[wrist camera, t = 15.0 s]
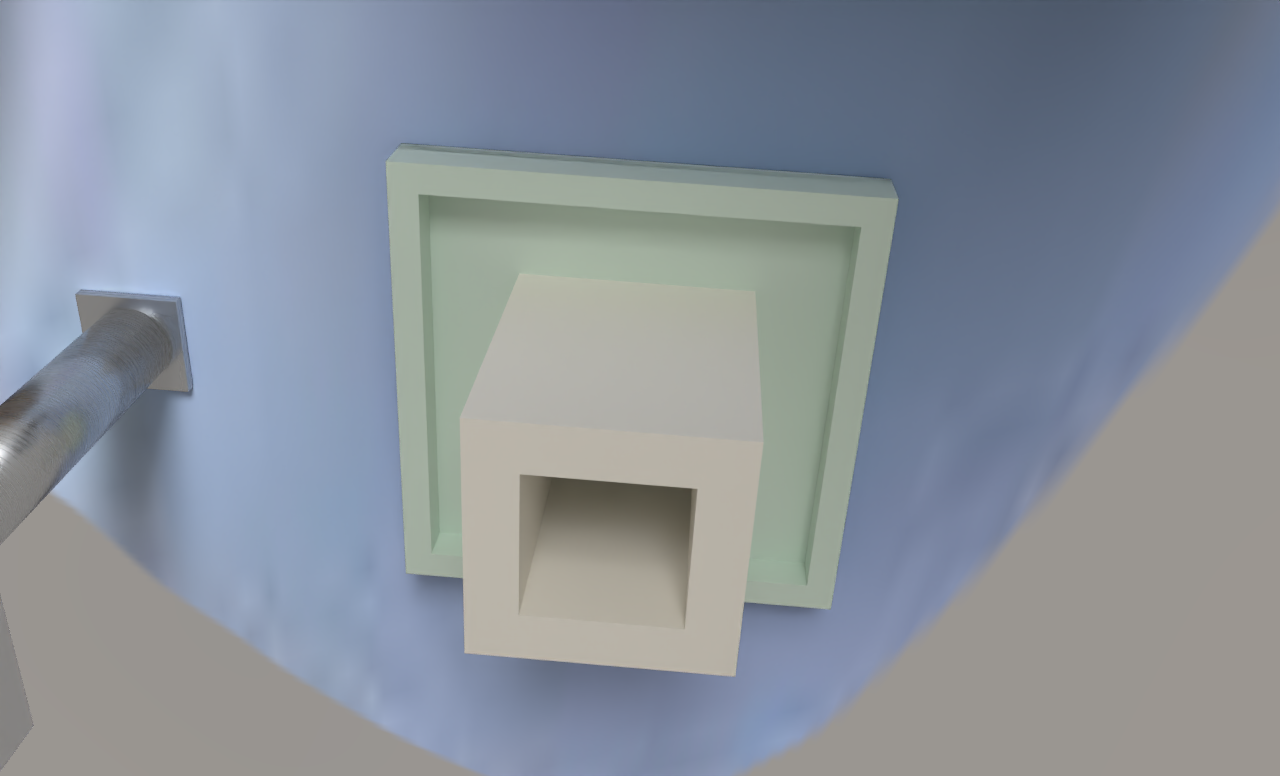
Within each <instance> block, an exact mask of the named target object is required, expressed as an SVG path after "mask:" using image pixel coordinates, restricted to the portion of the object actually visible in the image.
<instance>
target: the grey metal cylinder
mask: <svg viewBox="0 0 1280 776" xmlns="http://www.w3.org/2000/svg"><path fill="white" fill-rule="evenodd" d="M75 295H76V300H77V306H78V311H79V316H80V321H81V327H82V332H83V334H81V335H80V336H79V337H78V338H77V339H76V340H75V341H73V342H72V343H71V344H70V345H69V346H68V347H67V348H65V349H64V350H63V351H62V352H61V353H60V354H59V355H57V356H56V357H55V358H54V359H53V360H52V361H51V362H49V363H48V364H47V365H46V366H45V367H44V368H43V369H41V370H40V371H39V372H38V373H37V374H36V375H35V376H33V377H32V378H31V379H30V380H29V381H28V382H26V383H25V384H24V385H23V386H22V387H21V388H20V389H18V390H17V391H16V392H15V393H14V394H13V395H12V396H10V397H9V398H8V399H7V400H6V401H5V402H4V403H2V404H1V405H0V545H1V544H2V543H3V542H4V540H5V539H6V538H7V537H8V536H9V535H10V534H11V533H12V532H13V531H14V530H15V529H16V528H17V526H18V525H19V524H20V523H21V522H22V521H23V520H24V519H25V518H26V517H27V516H28V515H29V514H30V513H31V512H32V511H33V510H34V508H35V507H36V506H37V505H38V504H39V503H40V502H41V501H42V500H43V499H44V498H45V497H46V496H47V495H48V494H49V492H50V491H51V490H52V489H53V488H54V487H55V486H56V485H57V484H58V483H59V482H60V481H61V480H62V479H63V478H64V476H65V475H66V474H67V473H68V472H69V471H70V470H71V469H72V468H73V467H74V466H75V465H76V464H77V463H78V462H79V460H80V459H81V458H82V457H83V456H84V455H85V454H86V453H87V452H88V451H89V450H90V449H91V448H92V447H93V446H94V444H95V443H96V442H97V441H98V440H99V439H100V438H101V437H102V436H103V435H104V434H105V433H106V432H107V431H108V430H109V428H110V427H111V426H112V425H113V424H114V423H115V422H116V421H117V420H118V419H119V418H120V417H121V416H122V415H123V414H124V412H125V411H126V410H127V409H128V408H129V407H130V406H131V405H132V404H133V403H134V402H135V401H136V400H137V399H138V398H139V396H140V395H141V394H142V393H143V392H144V391H145V390H146V389H159V390H172V391H184V392H189V391H190V390H191V388H192V387H193V383H192V376H191V369H190V362H189V355H188V348H187V341H186V334H185V327H184V320H183V313H182V306H181V299H180V297H168V296H155V295H142V294H129V293H116V292H103V291H90V290H80V291H79V292H77V293H76V294H75Z"/></svg>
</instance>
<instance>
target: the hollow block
mask: <svg viewBox="0 0 1280 776" xmlns="http://www.w3.org/2000/svg"><path fill="white" fill-rule="evenodd" d="M763 443H764V440H763V422H762V403H761V385H760V366H759V348H758V329H757V311H756V292H755V291H744V290H731V289H718V288H705V287H692V286H679V285H666V284H652V283H639V282H626V281H613V280H600V279H587V278H574V277H561V276H548V275H535V274H521V273H519V275H518V278H517V280H516V283H515V285H514V287H513V290H512V292H511V295H510V297H509V300H508V302H507V304H506V307H505V309H504V312H503V314H502V317H501V319H500V321H499V324H498V326H497V329H496V331H495V333H494V336H493V338H492V341H491V343H490V346H489V348H488V350H487V353H486V355H485V358H484V360H483V363H482V365H481V367H480V370H479V372H478V375H477V377H476V380H475V382H474V384H473V387H472V389H471V392H470V394H469V397H468V399H467V401H466V404H465V406H464V409H463V411H462V413H461V416H460V458H461V506H462V553H463V601H464V649H465V653H468V654H480V655H491V656H503V657H514V658H526V659H537V660H549V661H560V662H571V663H583V664H594V665H606V666H617V667H629V668H640V669H652V670H663V671H675V672H686V673H698V674H709V675H721V676H732V677H735V674H736V666H737V658H738V649H739V641H740V633H741V625H742V616H743V608H744V600H745V592H746V583H747V575H748V567H749V559H750V551H751V542H752V534H753V526H754V518H755V509H756V501H757V493H758V485H759V476H760V468H761V460H762V452H763Z"/></svg>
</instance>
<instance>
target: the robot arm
mask: <svg viewBox="0 0 1280 776" xmlns="http://www.w3.org/2000/svg"><path fill="white" fill-rule="evenodd" d="M33 726H34V725H33V721H32V717H31V713H30V709H29V705H28V701H27V698H26V693H25V689H24V685H23V682H22V678H21V674H20V670H19V666H18V662H17V658H16V654H15V650H14V646H13V643H12V639H11V634H10V631H9V627H8V623H7V619H6V615H5V612H4V607H3V603H2V599H1V595H0V771H1V770H2V769H3V767H4V766H5V764H6V763H7V762H8V760H9V759H10V757H11V756H12V755H13V753H14V752H15V750H16V749H17V748H18V747H19V745H20V744H21V742H22V741H23V740H24V738H25V737H26V735H27V734H28V733H29V731H30V730H31V729H32V727H33Z"/></svg>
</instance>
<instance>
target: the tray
mask: <svg viewBox="0 0 1280 776" xmlns="http://www.w3.org/2000/svg"><path fill="white" fill-rule="evenodd" d="M386 179H387V199H388V219H389V240H390V260H391V280H392V300H393V321H394V341H395V361H396V381H397V402H398V422H399V442H400V462H401V482H402V503H403V523H404V543H405V563H406V573H408V574H419V575H431V576H443V577H455V578H463V553H462V506H461V458H460V416H461V413H462V411H463V409H464V406H465V404H466V401H467V399H468V397H469V394H470V392H471V389H472V387H473V384H474V382H475V380H476V377H477V375H478V372H479V370H480V367H481V365H482V363H483V360H484V358H485V355H486V353H487V350H488V348H489V346H490V343H491V341H492V338H493V336H494V333H495V331H496V329H497V326H498V324H499V321H500V319H501V317H502V314H503V312H504V309H505V307H506V304H507V302H508V300H509V297H510V295H511V292H512V290H513V287H514V285H515V283H516V280H517V278H518V275H519V273H521V274H535V275H548V276H561V277H574V278H587V279H600V280H613V281H626V282H639V283H652V284H666V285H679V286H692V287H705V288H718V289H731V290H744V291H755V292H756V311H757V329H758V348H759V366H760V385H761V403H762V422H763V440H764V443H763V452H762V460H761V468H760V476H759V485H758V493H757V501H756V509H755V518H754V526H753V534H752V542H751V551H750V559H749V567H748V575H747V583H746V592H745V600H744V602H749V603H760V604H772V605H784V606H796V607H807V608H819V609H831V604H832V598H833V592H834V586H835V580H836V574H837V568H838V562H839V556H840V550H841V544H842V538H843V532H844V526H845V520H846V514H847V508H848V502H849V495H850V489H851V483H852V477H853V471H854V465H855V459H856V453H857V447H858V441H859V435H860V429H861V423H862V417H863V411H864V405H865V399H866V393H867V387H868V381H869V375H870V369H871V363H872V357H873V351H874V345H875V339H876V333H877V327H878V321H879V315H880V309H881V303H882V297H883V291H884V285H885V278H886V272H887V266H888V260H889V254H890V248H891V242H892V236H893V230H894V224H895V218H896V212H897V206H898V200H899V199H898V196H897V194H896V191H895V189H894V186H893V184H892V181H891V179H884V178H871V177H857V176H843V175H829V174H816V173H802V172H788V171H775V170H761V169H747V168H733V167H720V166H706V165H692V164H679V163H665V162H651V161H638V160H624V159H610V158H596V157H583V156H569V155H555V154H542V153H528V152H514V151H500V150H487V149H473V148H459V147H446V146H432V145H418V144H404V143H401V144H400V145H399V147H398V148H397V149H396V150H395V151H394V152H393V153H392V155H391V156H390V157H389V158H388V159H387V160H386Z"/></svg>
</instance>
